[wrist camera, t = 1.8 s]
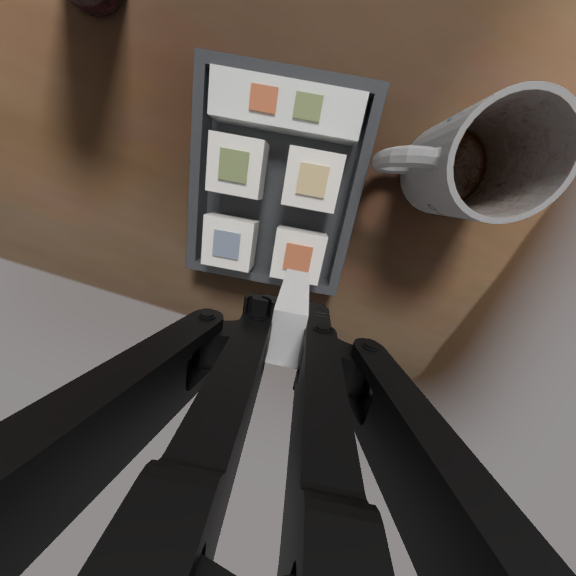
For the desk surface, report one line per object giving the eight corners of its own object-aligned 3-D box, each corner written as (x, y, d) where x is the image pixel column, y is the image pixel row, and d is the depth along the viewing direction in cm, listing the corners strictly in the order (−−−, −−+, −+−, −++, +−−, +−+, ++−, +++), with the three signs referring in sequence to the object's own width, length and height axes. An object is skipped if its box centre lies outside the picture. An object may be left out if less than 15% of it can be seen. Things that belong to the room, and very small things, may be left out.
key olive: (215, 190, 27) (204, 190, 24) (218, 136, 26) (207, 129, 23) (262, 199, 27) (257, 199, 24) (269, 145, 25) (264, 139, 23)
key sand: (283, 203, 27) (280, 204, 24) (291, 149, 25) (289, 144, 23) (331, 211, 27) (333, 214, 24) (343, 158, 25) (347, 154, 23)
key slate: (210, 257, 30) (199, 264, 27) (213, 212, 28) (202, 214, 25) (253, 265, 30) (247, 273, 27) (259, 220, 28) (254, 224, 25)
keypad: (196, 261, 32) (184, 269, 29) (207, 63, 26) (192, 44, 22) (333, 287, 32) (335, 297, 29) (380, 94, 25) (391, 80, 22)
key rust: (272, 269, 30) (269, 277, 27) (280, 224, 28) (276, 228, 25) (316, 277, 30) (317, 286, 27) (326, 233, 28) (328, 237, 25)
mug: (506, 136, 26) (619, 102, 16) (462, 223, 29) (537, 238, 19) (385, 100, 25) (429, 45, 16) (354, 192, 28) (376, 191, 19)
